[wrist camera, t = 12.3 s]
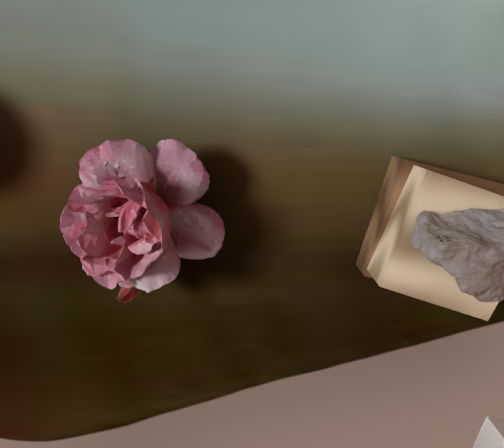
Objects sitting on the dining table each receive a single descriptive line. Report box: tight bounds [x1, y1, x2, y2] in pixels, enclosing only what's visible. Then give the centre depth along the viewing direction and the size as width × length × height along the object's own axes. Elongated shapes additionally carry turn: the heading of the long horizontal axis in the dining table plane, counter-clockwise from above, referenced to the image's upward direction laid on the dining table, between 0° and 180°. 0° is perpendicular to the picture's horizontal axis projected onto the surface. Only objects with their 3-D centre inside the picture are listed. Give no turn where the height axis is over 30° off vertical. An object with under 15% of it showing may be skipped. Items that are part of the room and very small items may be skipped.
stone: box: [411, 208, 504, 303], centre depth 32 cm, size 8×10×6 cm
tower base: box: [356, 156, 504, 278], centre depth 41 cm, size 12×12×4 cm
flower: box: [60, 138, 225, 303], centre depth 37 cm, size 15×15×10 cm
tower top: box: [367, 165, 504, 321], centre depth 37 cm, size 11×11×4 cm
